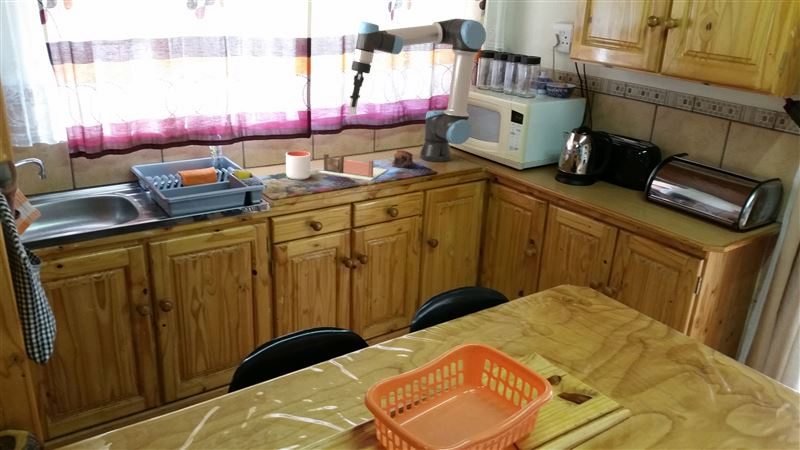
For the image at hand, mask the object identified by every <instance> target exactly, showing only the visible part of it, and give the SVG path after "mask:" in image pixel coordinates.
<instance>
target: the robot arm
mask: <svg viewBox="0 0 800 450" xmlns="http://www.w3.org/2000/svg"><path fill="white" fill-rule="evenodd" d="M357 34H358V35H357V40H356V44H355V50H354V51H352V53H353V54H354V56H353V59H354V60H353V61H352V64H351V71H355V72H356V74H355V75H354V78H353V90H352V94H351V95H349V99H350V105H349V109H348V115H349V116H354V117H355V116H356V112H357V106H358V103H359V102H358V101H359V99H360V98H361V95H360V92H361V91H360V90H361V88H362V86H363V82H364V79H365V77H364V74H370V72H371V67H372V65H371V64H372V63H373V59H374V55H375V54H374V53H375V51H379V52H382V53H383V52H384V53H388V54H391V55H392V54H393V55H399V54H401V52H402V50H403V48H404V47H407V46H415V45H422V44H432V43H434V44H435V45H451V46H452V49H451V50H452V52H453V54H454V58H453V67H452V72H451V73H452V75H451V79H450V81H451V82H450V88H449V95H448V96H449V97H448V101H447V108H446V109H442V110H441V109H440V110H439V109H437V110H428V111H427V112H426V114H425V124H424V125H425V126H424V128H425V129H424V142H423V144H422V147H421V150H420V153H419V158H420V160H423V161H428V162H436V163H438V162H439V163H441V162H442V163H443V162H449V161H451V160H452V151H451V148H450V144H452V145H453V144H454V145H462V144H464V143H465V142H467V141H468V140H469V139H470V137H471V135H472V129H473V127H472V125H471V122H469V119H470V118H469V117H470V115H469V113H468V112H467V108H468V103H469V102H468V101H469V95H470V89H471V81H472V75H473V68H474V60H475V57H476V56H477V55H478V54H479V51H480V48H482V47H483V45H484V44H485V43H486V37H487V33H486V28H485V27H484V25H483V24H482V23H481V22H480V21H478V20H474V19H466V18H465V19H464V18H451V19H446V20H441V21H435V22H433V23H432V24H428V25H419V26H418V25H417V26H412V27H402V28H392V29H383V30H380V26H379V25H378V24H376V23H372V22H368V21H363V22H361V23H360V26H359V29H358V33H357Z"/></svg>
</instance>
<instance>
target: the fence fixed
mask: <svg viewBox="0 0 800 450" xmlns="http://www.w3.org/2000/svg"><path fill="white" fill-rule="evenodd" d="M329 155H330V154H329V153H324V154H323V169H324V170H325V171H328V170H333V171H339V173H344V172H343V169H344V160H345V157H344V156H343V155H340V156H339V157H338V158H336V157H330V156H329Z"/></svg>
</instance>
